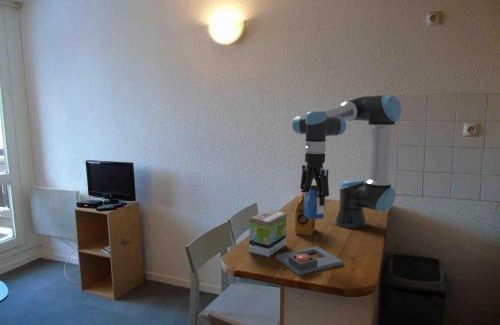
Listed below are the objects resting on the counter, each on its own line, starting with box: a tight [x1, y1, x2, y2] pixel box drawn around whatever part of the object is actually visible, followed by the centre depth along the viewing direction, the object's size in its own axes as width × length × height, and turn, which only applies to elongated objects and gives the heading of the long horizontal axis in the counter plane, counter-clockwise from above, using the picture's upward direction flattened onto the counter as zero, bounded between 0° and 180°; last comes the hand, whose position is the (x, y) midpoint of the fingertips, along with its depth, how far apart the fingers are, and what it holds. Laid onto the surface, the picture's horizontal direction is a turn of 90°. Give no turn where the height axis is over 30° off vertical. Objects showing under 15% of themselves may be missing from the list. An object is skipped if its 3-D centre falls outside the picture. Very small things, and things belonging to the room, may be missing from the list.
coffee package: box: [294, 189, 316, 237], centre depth 167 cm, size 10×12×22 cm
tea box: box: [248, 209, 288, 258], centre depth 146 cm, size 15×10×15 cm
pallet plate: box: [275, 245, 344, 276], centre depth 134 cm, size 20×16×4 cm
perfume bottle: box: [304, 184, 325, 220], centre depth 135 cm, size 6×6×12 cm
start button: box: [296, 254, 310, 262], centre depth 128 cm, size 5×5×2 cm
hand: (313, 210), depth 135 cm, fingers closed on perfume bottle, 8 cm apart
